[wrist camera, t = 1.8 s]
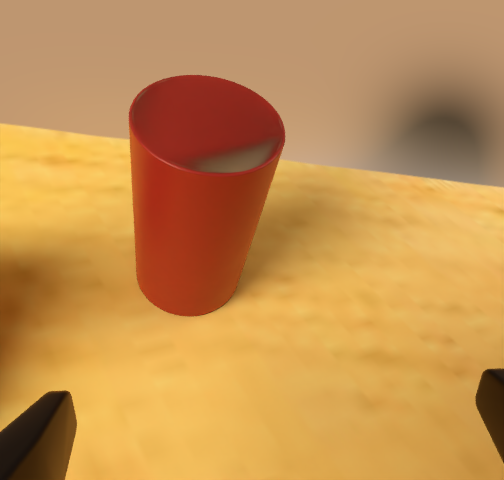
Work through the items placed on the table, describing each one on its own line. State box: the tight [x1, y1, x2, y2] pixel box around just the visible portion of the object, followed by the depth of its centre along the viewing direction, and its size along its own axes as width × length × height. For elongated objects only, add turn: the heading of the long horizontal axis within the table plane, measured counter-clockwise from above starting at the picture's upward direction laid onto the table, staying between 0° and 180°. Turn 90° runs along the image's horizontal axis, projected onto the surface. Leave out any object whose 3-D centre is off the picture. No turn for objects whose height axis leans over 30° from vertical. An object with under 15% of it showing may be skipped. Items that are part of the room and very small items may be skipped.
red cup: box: [129, 75, 285, 316], centre depth 22 cm, size 7×7×12 cm
